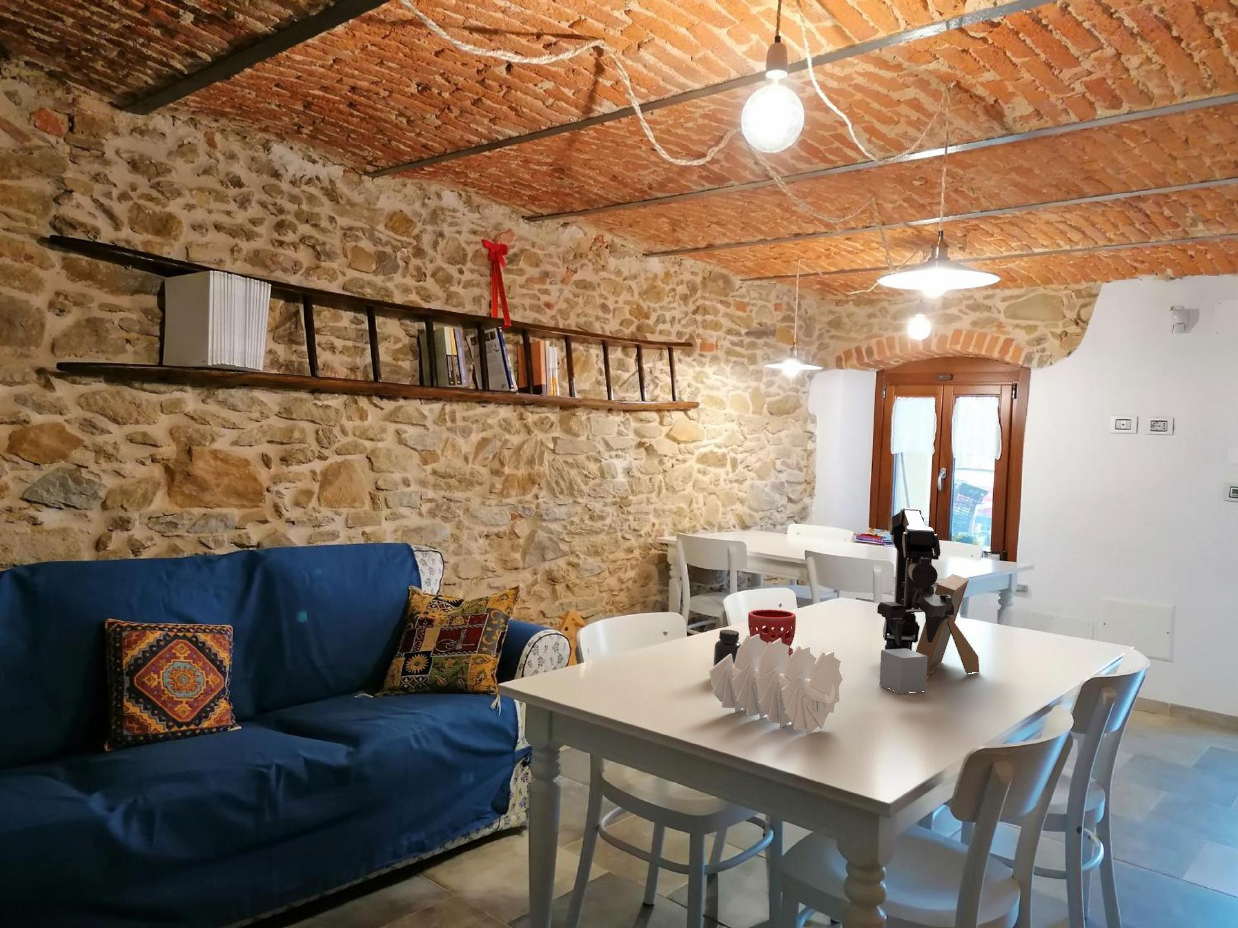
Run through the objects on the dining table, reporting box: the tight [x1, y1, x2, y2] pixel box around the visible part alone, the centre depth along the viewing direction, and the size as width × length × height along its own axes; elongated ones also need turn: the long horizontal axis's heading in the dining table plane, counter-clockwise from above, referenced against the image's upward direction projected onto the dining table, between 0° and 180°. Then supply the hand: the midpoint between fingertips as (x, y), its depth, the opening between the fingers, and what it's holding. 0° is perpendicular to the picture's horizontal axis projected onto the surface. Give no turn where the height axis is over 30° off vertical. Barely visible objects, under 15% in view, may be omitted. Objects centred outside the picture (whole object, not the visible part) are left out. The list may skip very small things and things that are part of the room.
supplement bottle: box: [712, 629, 742, 668], centre depth 211 cm, size 7×7×12 cm
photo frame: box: [915, 573, 980, 679], centre depth 224 cm, size 15×22×25 cm
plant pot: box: [747, 609, 797, 657], centre depth 236 cm, size 13×13×12 cm
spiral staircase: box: [708, 634, 843, 736], centre depth 180 cm, size 18×18×25 cm
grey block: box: [879, 648, 928, 695], centre depth 209 cm, size 8×8×9 cm
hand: (914, 643), depth 207 cm, fingers open, 9 cm apart
